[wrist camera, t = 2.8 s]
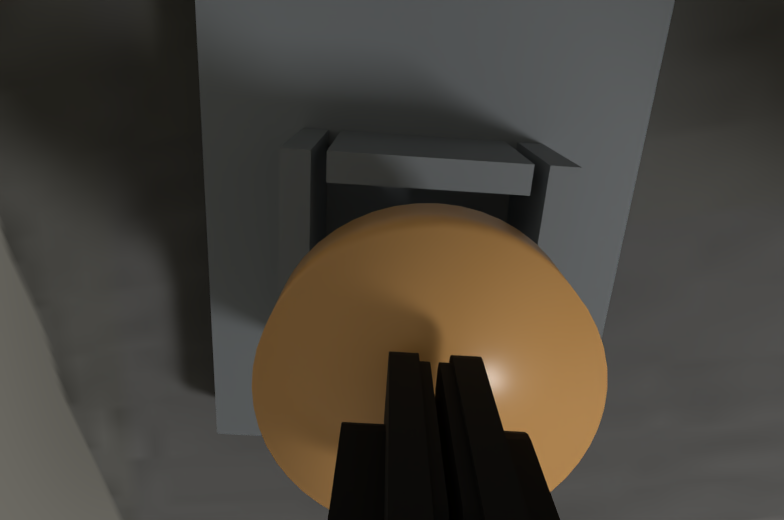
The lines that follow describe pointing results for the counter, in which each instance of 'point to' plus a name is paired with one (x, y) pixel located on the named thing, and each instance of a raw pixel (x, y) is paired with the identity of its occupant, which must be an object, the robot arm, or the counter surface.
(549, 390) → the knob
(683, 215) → the counter surface
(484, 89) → the console
